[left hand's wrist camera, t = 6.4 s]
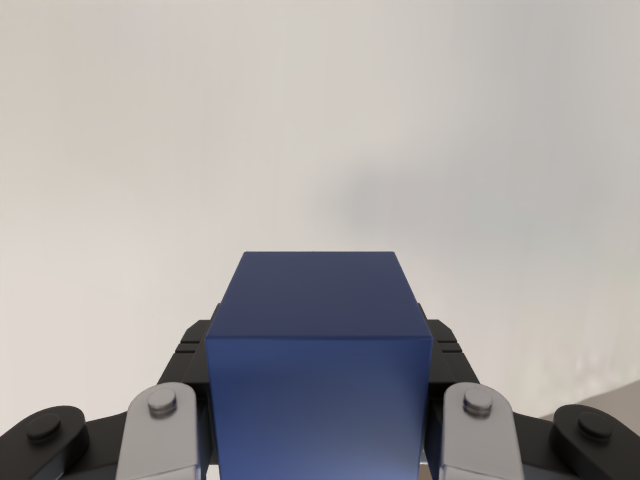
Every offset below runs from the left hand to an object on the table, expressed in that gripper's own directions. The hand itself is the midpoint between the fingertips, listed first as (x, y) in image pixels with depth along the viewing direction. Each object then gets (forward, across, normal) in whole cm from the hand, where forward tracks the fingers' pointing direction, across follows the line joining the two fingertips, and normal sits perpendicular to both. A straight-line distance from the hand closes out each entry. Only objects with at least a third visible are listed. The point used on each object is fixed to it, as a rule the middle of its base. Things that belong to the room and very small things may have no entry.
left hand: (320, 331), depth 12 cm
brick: (0, 0, 0) cm, 0 cm away
